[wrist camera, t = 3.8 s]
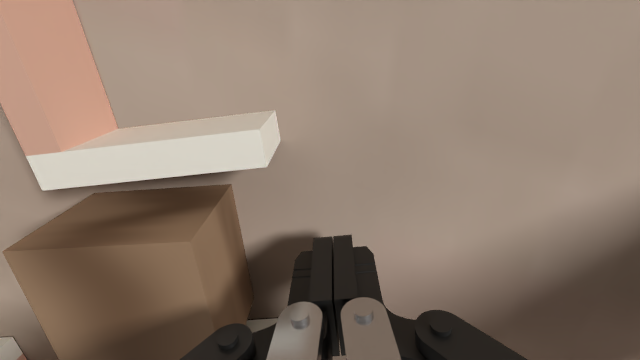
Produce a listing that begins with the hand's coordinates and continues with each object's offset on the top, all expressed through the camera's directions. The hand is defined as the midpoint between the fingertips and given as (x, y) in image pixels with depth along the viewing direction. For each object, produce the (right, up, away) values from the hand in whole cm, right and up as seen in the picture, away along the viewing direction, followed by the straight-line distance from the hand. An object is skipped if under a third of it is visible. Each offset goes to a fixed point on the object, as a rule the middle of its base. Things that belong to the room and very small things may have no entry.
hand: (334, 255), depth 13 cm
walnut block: (-7, 0, +2) cm, 7 cm away
